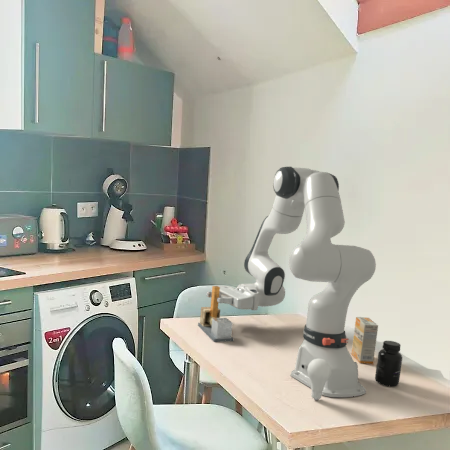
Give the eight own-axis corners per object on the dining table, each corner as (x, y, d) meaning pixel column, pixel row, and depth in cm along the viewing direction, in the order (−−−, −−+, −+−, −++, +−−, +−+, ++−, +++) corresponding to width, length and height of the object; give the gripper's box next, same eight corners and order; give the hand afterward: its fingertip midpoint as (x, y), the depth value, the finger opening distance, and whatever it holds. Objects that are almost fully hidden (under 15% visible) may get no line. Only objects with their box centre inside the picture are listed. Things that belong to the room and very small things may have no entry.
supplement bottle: (400, 389, 150) (405, 348, 149) (375, 385, 151) (380, 344, 150) (397, 380, 157) (402, 341, 155) (373, 376, 158) (378, 337, 157)
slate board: (233, 341, 178) (233, 338, 178) (213, 341, 175) (214, 339, 175) (215, 325, 194) (216, 322, 194) (197, 325, 192) (198, 322, 192)
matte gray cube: (231, 338, 177) (232, 322, 177) (216, 338, 176) (218, 323, 175) (225, 332, 183) (226, 317, 182) (211, 333, 181) (212, 318, 180)
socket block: (218, 326, 190) (220, 310, 189) (203, 326, 188) (204, 310, 187) (215, 322, 194) (216, 306, 193) (199, 323, 191) (201, 307, 191)
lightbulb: (325, 406, 134) (330, 365, 132) (302, 401, 136) (306, 360, 134) (329, 397, 139) (333, 357, 138) (306, 392, 141) (310, 353, 140)
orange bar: (223, 331, 182) (227, 291, 180) (214, 331, 181) (217, 291, 179) (214, 322, 191) (217, 284, 190) (205, 322, 190) (208, 284, 188)
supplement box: (350, 354, 176) (355, 316, 174) (364, 355, 176) (369, 317, 175) (359, 363, 168) (364, 323, 166) (373, 364, 168) (378, 324, 167)
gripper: (231, 280, 202) (199, 281, 195) (261, 294, 184) (228, 296, 177) (229, 296, 202) (198, 298, 195) (259, 311, 185) (226, 314, 178)
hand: (212, 297), depth 186 cm, fingers open, 6 cm apart
